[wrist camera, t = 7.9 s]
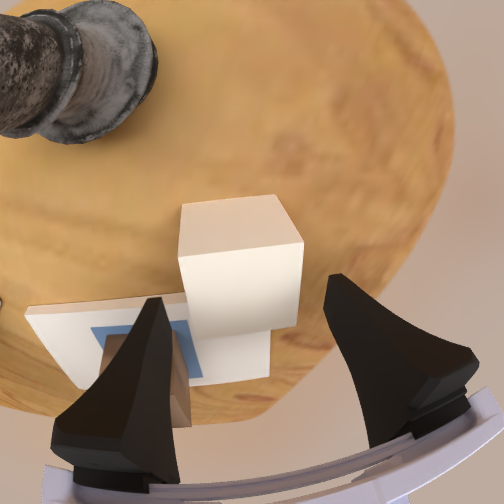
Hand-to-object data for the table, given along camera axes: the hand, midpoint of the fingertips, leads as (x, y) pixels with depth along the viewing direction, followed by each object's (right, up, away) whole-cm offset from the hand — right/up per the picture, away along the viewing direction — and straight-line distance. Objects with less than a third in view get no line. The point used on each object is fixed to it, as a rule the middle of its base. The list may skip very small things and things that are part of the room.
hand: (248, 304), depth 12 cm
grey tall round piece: (-7, +11, -2) cm, 13 cm away
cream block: (-1, +3, +4) cm, 6 cm away
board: (-8, -5, +8) cm, 12 cm away
